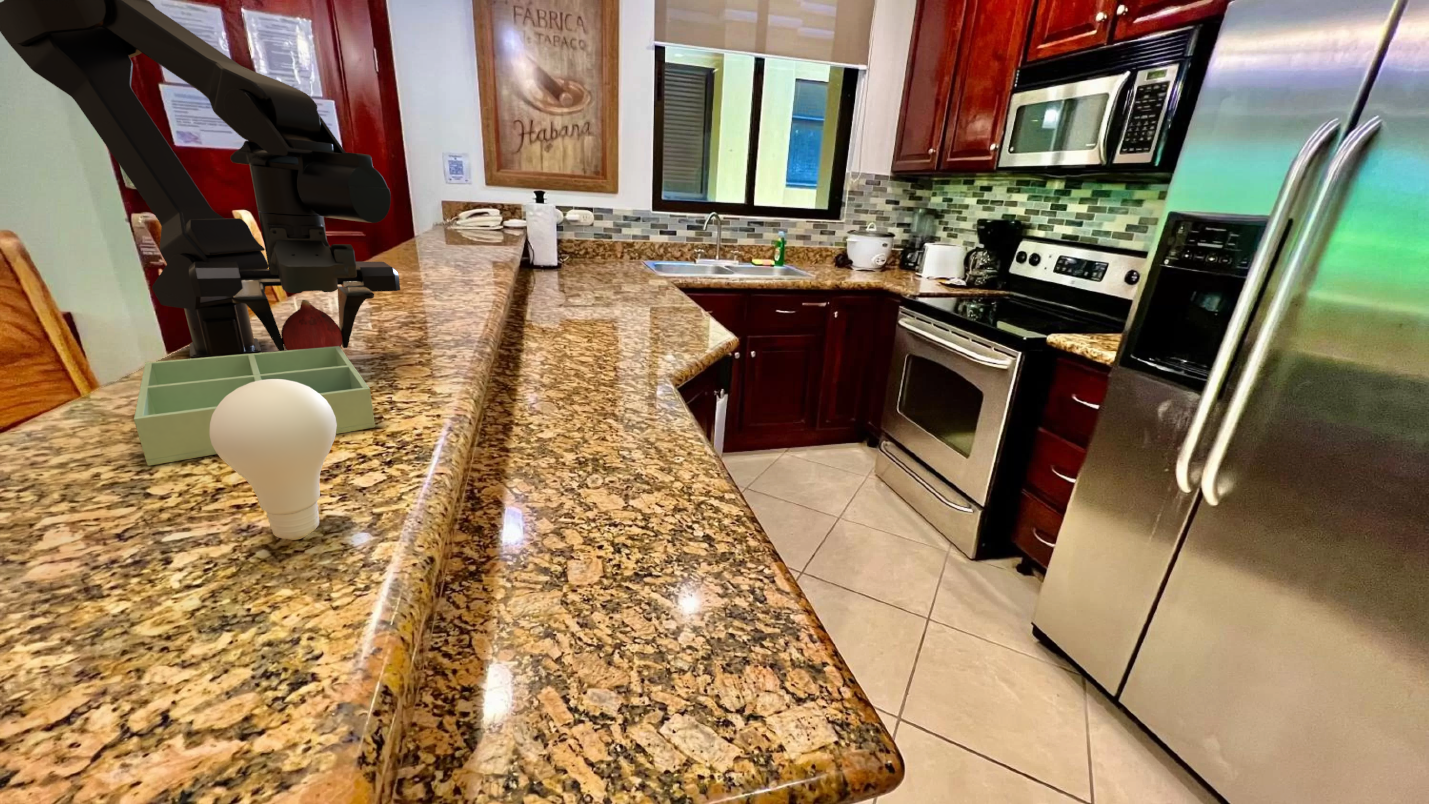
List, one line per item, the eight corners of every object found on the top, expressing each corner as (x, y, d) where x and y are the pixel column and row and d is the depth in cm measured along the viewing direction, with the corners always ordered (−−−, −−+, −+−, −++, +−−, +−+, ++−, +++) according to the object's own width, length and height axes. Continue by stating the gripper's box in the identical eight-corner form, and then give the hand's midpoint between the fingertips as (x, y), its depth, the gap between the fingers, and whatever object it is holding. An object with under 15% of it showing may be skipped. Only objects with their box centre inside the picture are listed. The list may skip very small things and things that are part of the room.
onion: (357, 362, 69) (348, 299, 66) (321, 376, 64) (310, 307, 61) (313, 356, 69) (302, 293, 66) (274, 370, 64) (261, 301, 61)
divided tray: (156, 401, 53) (145, 362, 52) (344, 379, 63) (339, 345, 62) (147, 466, 43) (133, 419, 41) (375, 427, 53) (370, 388, 51)
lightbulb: (223, 573, 33) (178, 403, 29) (255, 518, 38) (220, 367, 34) (344, 556, 35) (317, 396, 31) (359, 506, 40) (337, 364, 37)
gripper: (172, 215, 49) (211, 381, 54) (405, 224, 61) (418, 359, 66) (174, 205, 56) (209, 351, 62) (381, 215, 68) (395, 337, 74)
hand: (314, 350), depth 66 cm, fingers closed on onion, 6 cm apart
